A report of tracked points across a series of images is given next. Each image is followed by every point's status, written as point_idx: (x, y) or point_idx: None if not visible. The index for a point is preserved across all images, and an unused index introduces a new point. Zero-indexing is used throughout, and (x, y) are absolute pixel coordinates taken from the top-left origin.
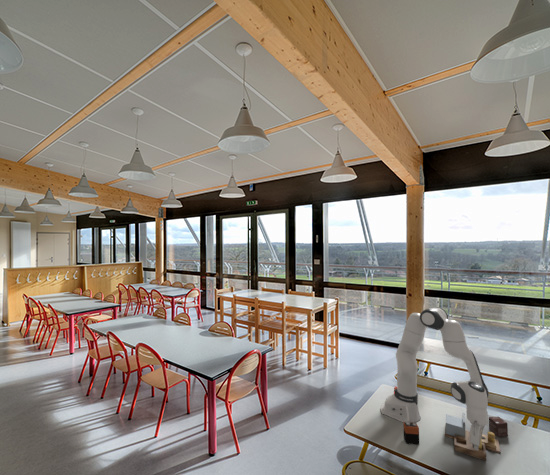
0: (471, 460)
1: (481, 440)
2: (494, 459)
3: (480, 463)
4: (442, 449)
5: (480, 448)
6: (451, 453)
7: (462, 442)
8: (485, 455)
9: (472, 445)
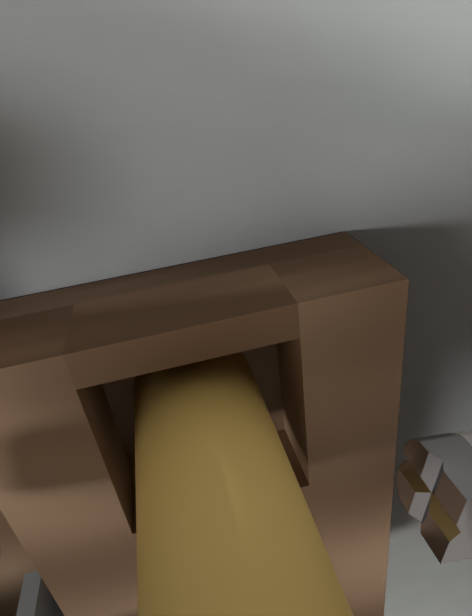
0: (440, 383)
1: (262, 563)
2: (204, 101)
3: (453, 289)
4: (392, 593)
5: (253, 397)
6: (414, 537)
7: None
8: (392, 278)
9: None
